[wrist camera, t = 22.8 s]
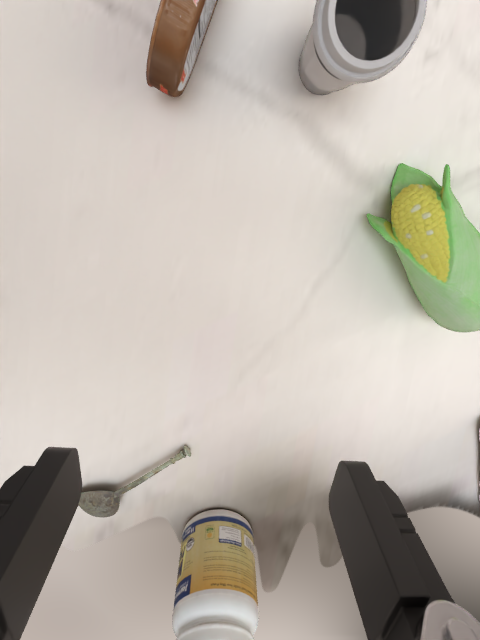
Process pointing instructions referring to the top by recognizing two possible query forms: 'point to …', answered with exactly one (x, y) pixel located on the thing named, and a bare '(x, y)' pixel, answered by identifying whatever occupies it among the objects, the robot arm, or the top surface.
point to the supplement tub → (216, 579)
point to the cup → (357, 41)
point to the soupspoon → (118, 492)
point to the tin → (177, 43)
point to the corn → (435, 247)
